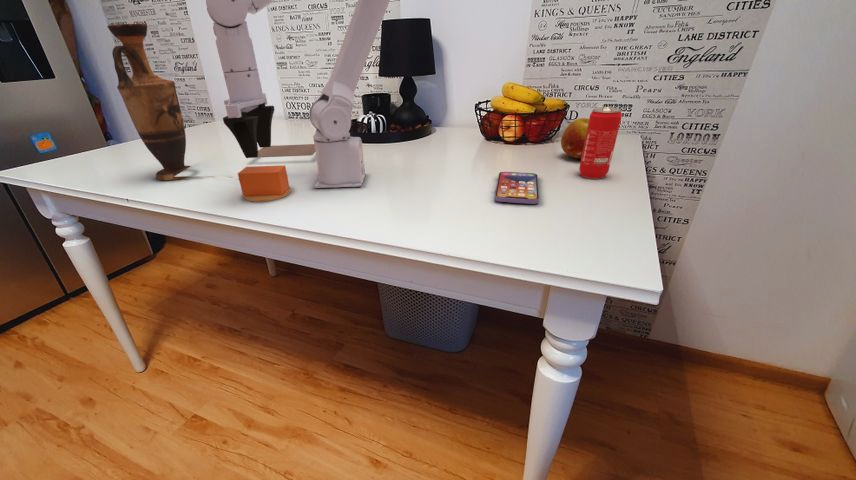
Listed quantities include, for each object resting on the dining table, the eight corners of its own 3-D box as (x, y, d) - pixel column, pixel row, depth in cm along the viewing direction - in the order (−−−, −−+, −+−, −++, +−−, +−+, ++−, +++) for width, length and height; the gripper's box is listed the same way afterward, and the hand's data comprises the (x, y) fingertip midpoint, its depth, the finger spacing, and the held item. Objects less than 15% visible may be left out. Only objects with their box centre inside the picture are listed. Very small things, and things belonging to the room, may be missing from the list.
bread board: (322, 149, 108) (322, 143, 108) (313, 161, 98) (312, 155, 97) (265, 151, 110) (264, 146, 109) (250, 163, 99) (248, 157, 99)
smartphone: (537, 177, 79) (538, 205, 66) (498, 175, 80) (493, 202, 68) (537, 173, 78) (539, 200, 66) (499, 171, 80) (494, 197, 68)
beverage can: (578, 178, 77) (591, 111, 71) (578, 170, 81) (590, 107, 75) (607, 180, 75) (624, 112, 69) (606, 172, 79) (622, 107, 73)
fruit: (603, 164, 84) (613, 124, 80) (557, 162, 87) (564, 123, 82) (601, 152, 91) (609, 115, 87) (558, 151, 94) (564, 115, 90)
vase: (188, 166, 100) (144, 25, 85) (209, 173, 94) (165, 22, 78) (143, 177, 94) (86, 26, 78) (163, 185, 87) (104, 23, 72)
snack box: (289, 187, 80) (285, 165, 78) (283, 195, 77) (278, 172, 74) (251, 188, 81) (245, 166, 79) (243, 196, 77) (237, 173, 75)
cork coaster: (295, 185, 82) (295, 183, 82) (283, 201, 75) (283, 199, 75) (253, 187, 83) (253, 185, 83) (237, 202, 76) (236, 200, 75)
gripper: (234, 68, 74) (251, 143, 82) (198, 76, 62) (222, 163, 69) (271, 66, 74) (285, 142, 81) (242, 73, 62) (262, 161, 69)
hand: (258, 151), depth 75 cm, fingers open, 7 cm apart
